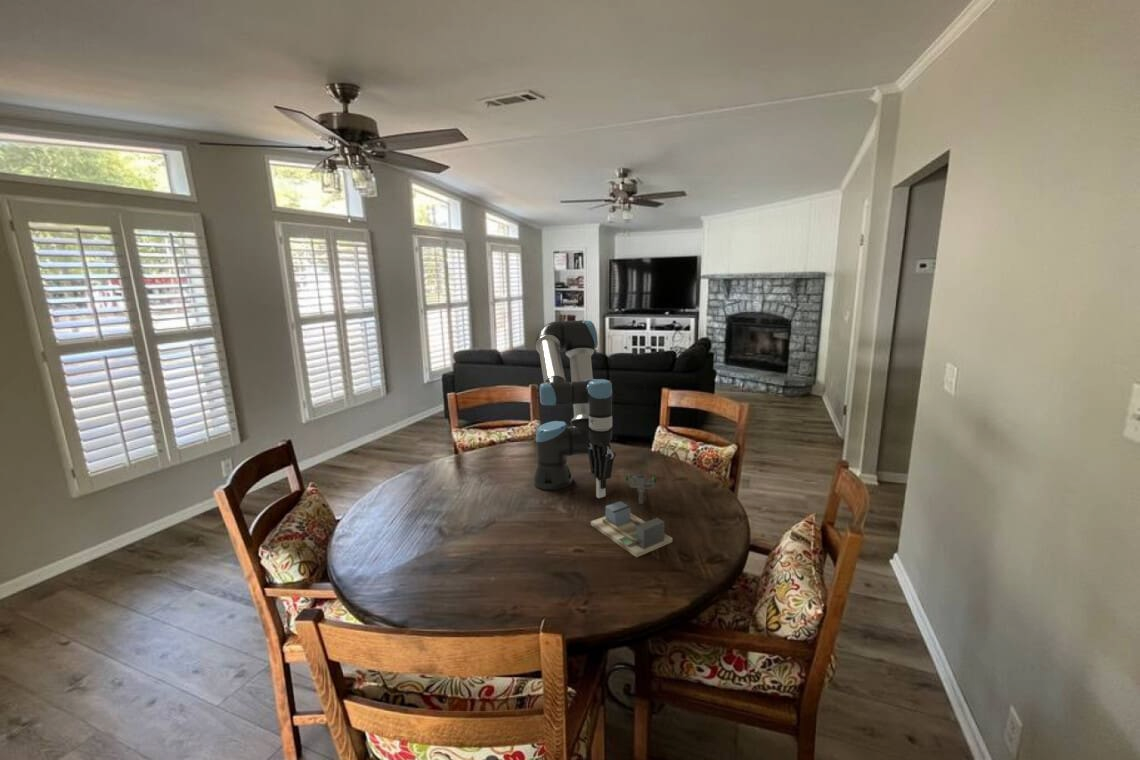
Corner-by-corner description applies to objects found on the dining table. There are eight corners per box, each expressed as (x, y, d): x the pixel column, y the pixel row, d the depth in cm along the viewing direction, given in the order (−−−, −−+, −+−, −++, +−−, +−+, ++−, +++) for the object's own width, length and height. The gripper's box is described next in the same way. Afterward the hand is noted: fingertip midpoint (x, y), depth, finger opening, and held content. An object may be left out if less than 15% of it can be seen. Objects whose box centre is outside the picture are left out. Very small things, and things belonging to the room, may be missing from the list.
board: (590, 524, 150) (590, 518, 149) (624, 512, 157) (624, 506, 157) (636, 557, 132) (636, 550, 131) (672, 541, 139) (672, 535, 139)
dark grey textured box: (636, 544, 136) (636, 525, 135) (656, 536, 140) (657, 517, 139) (643, 549, 134) (643, 530, 132) (663, 540, 138) (664, 521, 137)
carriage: (603, 521, 149) (603, 505, 148) (621, 514, 153) (621, 499, 152) (613, 527, 145) (613, 512, 144) (631, 521, 149) (631, 505, 148)
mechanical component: (655, 506, 161) (656, 479, 159) (625, 503, 163) (625, 477, 161) (655, 502, 164) (656, 475, 162) (626, 500, 166) (626, 473, 164)
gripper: (579, 425, 154) (580, 492, 158) (603, 435, 143) (603, 506, 148) (597, 421, 158) (598, 487, 162) (622, 430, 147) (622, 500, 152)
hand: (600, 496), depth 155 cm, fingers closed
